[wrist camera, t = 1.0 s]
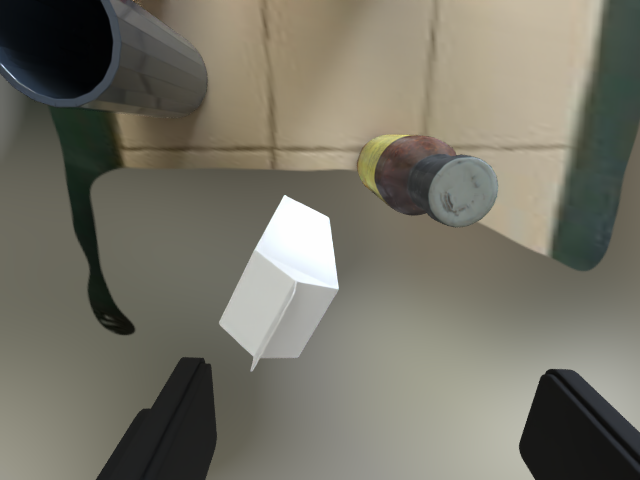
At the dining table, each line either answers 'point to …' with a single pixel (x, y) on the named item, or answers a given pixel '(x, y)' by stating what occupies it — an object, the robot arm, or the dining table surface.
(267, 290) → the milk
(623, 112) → the dining table surface
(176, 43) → the dark blue cylindrical vase
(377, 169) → the sauce bottle
